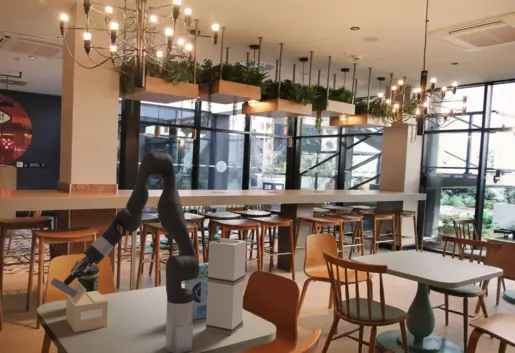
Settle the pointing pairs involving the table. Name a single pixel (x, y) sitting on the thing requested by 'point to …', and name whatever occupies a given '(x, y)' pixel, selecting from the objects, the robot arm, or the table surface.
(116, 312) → the table surface
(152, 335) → the table surface
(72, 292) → the flap
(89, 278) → the coffee jar
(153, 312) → the table surface
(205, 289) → the gum box
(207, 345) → the table surface
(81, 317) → the carton
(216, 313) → the white square pillar
